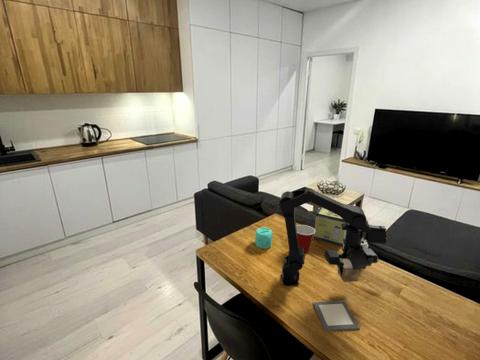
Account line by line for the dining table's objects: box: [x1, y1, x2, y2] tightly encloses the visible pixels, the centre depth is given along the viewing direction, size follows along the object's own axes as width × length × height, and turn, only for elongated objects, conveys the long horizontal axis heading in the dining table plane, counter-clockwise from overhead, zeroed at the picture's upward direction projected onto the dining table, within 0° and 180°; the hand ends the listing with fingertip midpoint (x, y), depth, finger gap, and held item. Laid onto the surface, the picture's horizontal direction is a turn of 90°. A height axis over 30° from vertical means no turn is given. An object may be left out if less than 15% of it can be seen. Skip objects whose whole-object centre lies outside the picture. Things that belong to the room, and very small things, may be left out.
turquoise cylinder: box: [254, 226, 273, 249], centre depth 135 cm, size 8×8×8 cm
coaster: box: [312, 300, 361, 332], centre depth 93 cm, size 12×12×1 cm
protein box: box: [313, 206, 346, 247], centre depth 139 cm, size 10×16×16 cm
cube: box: [337, 260, 361, 283], centre depth 101 cm, size 6×6×6 cm
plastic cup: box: [296, 224, 316, 254], centre depth 130 cm, size 11×11×12 cm
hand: (347, 274), depth 102 cm, fingers closed on cube, 5 cm apart
